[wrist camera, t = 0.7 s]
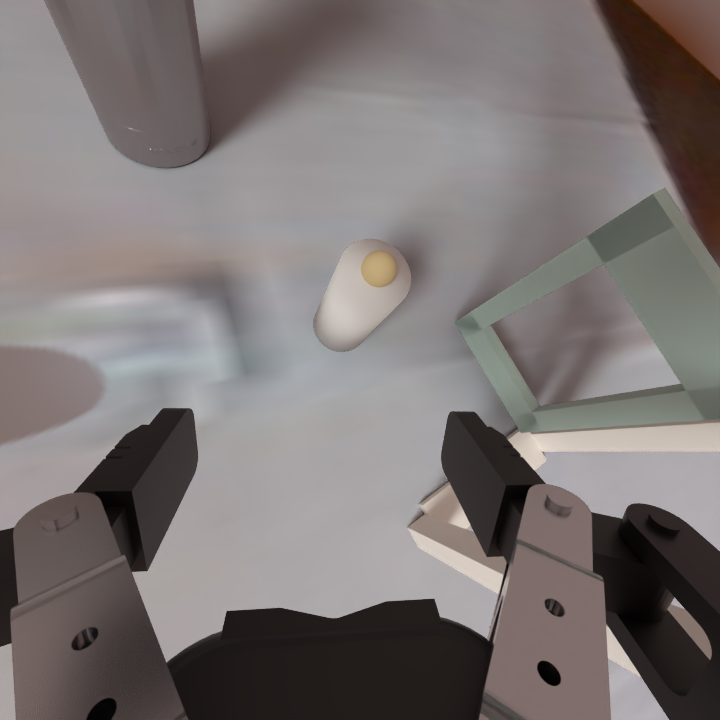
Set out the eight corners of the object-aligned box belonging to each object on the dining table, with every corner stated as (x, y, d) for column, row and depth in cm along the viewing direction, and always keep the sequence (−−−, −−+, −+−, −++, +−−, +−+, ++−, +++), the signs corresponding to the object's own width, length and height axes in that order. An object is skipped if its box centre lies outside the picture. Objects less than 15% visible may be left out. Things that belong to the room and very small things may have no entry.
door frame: (401, 517, 32) (893, 736, 7) (533, 416, 38) (1030, 354, 14) (424, 557, 32) (1015, 927, 7) (553, 449, 38) (1098, 446, 13)
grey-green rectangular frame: (538, 419, 37) (820, 387, 19) (520, 432, 36) (800, 413, 18) (473, 311, 38) (679, 180, 20) (454, 322, 37) (652, 193, 19)
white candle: (303, 313, 34) (330, 239, 22) (349, 293, 36) (396, 214, 24) (330, 360, 34) (372, 310, 22) (375, 337, 35) (436, 279, 24)
